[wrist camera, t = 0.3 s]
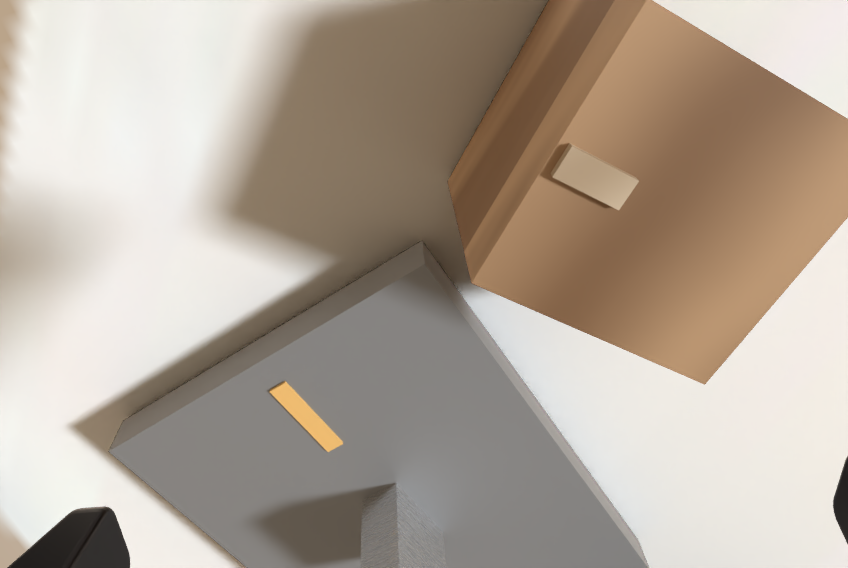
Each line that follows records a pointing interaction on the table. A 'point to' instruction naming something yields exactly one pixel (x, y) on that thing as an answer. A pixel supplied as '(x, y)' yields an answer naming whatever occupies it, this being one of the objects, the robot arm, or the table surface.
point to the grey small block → (398, 533)
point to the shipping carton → (647, 183)
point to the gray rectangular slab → (375, 438)
